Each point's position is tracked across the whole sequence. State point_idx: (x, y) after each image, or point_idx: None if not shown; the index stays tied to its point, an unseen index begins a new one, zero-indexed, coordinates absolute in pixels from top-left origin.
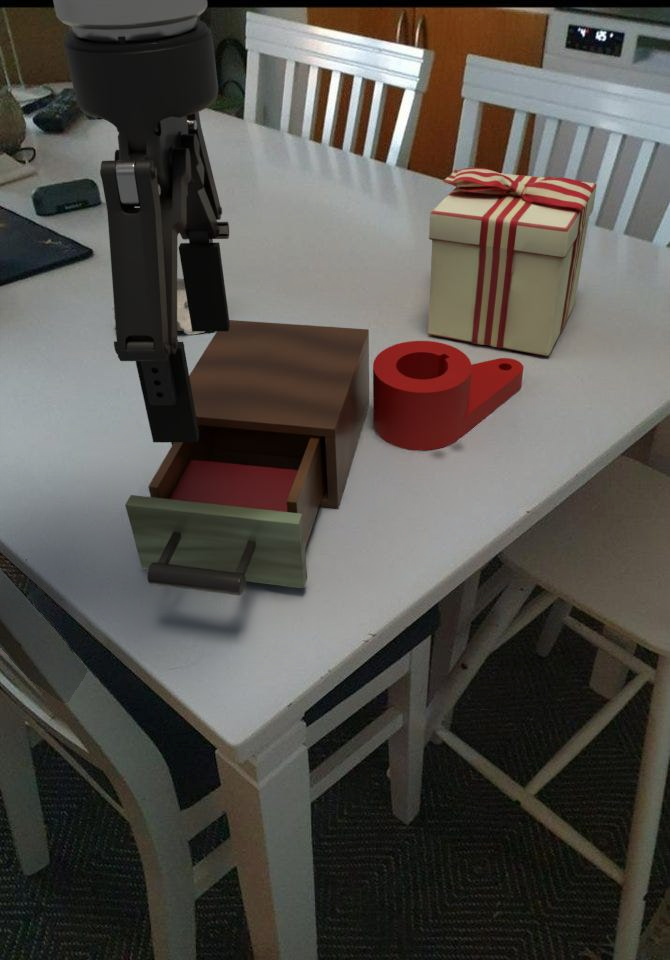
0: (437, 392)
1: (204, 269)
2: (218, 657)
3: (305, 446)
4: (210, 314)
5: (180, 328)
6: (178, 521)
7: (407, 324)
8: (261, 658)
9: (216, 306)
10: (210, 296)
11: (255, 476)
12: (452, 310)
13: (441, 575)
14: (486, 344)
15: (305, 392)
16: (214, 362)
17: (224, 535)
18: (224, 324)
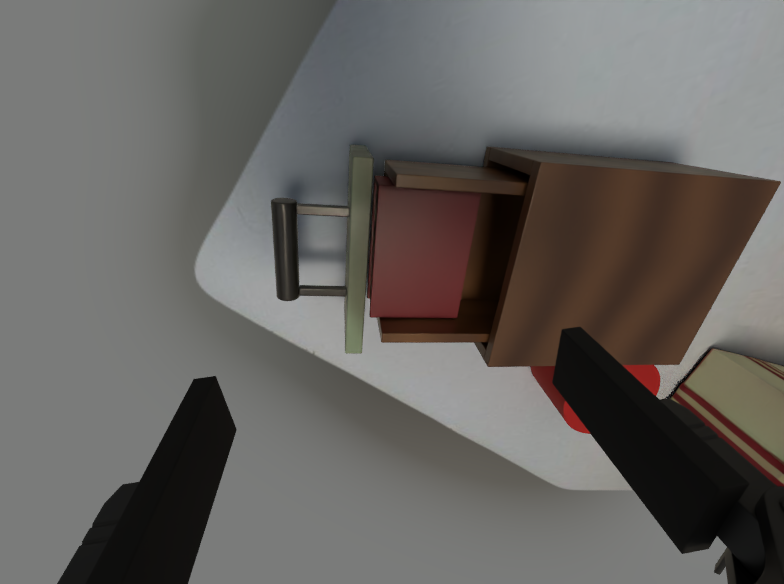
0: (563, 413)
1: (647, 468)
2: (262, 247)
3: None
4: (576, 384)
5: None
6: (349, 222)
7: (741, 326)
8: (270, 282)
9: (584, 406)
10: (599, 417)
11: (448, 273)
12: (725, 387)
13: (380, 387)
14: (674, 394)
15: (562, 326)
16: (660, 199)
17: (347, 267)
18: (560, 387)
